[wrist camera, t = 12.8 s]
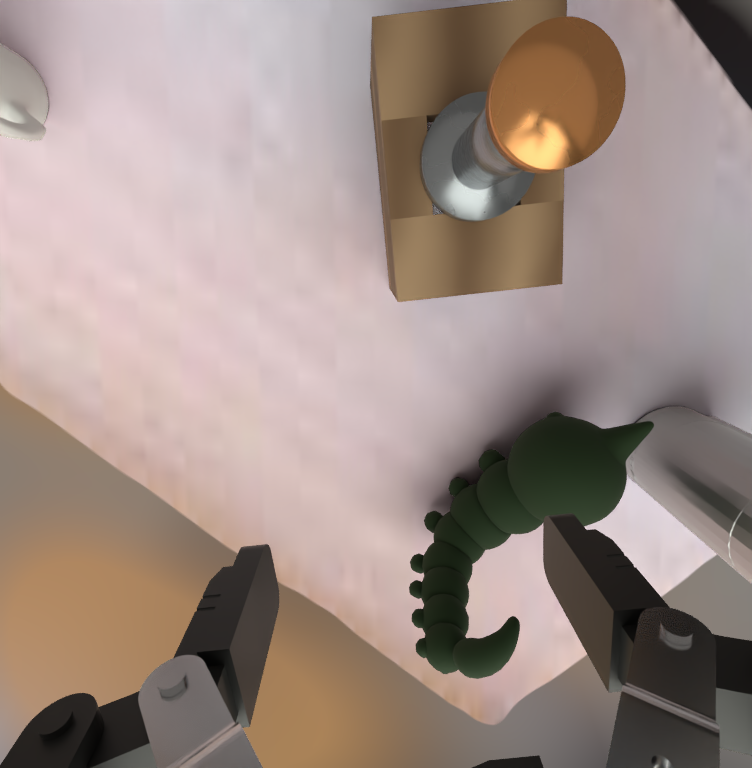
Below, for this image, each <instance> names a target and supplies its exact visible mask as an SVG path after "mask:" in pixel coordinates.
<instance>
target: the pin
mask: <svg viewBox="0 0 752 768" xmlns="http://www.w3.org/2000/svg"><path fill="white" fill-rule="evenodd" d="M624 97H625V72H624V66H623V62H622V59H621V56H620V54H619V51H618V49H617V47H616V46H615V44H614V42H613V41H612V40H611V38H610V37H609V36H608V35H607V34H606V33H605V32H604V31H603V30H602V29H601V28H599V27H598V26H597V25H595V24H593V23H591V22H589V21H587V20H584V19H581V18H577V17H557V18H552V19H548V20H546V21H543V22H541V23H539V24H537V25H535V26H533V27H532V28H530V29H529V30H527V31H526V32H525V33H524V34H523V35H521V36H520V37H519V38H518V39H517V40H516V42H515V43H514V44H513V45H512V46H511V48H510V49H509V50H508V52H507V53H506V55H505V56H504V57H503V59H502V60H501V62H500V63H499V65H498V66H497V68H496V70H495V72H494V74H493V76H492V78H491V81H490V84H489V87H488V91H487V92H475V93H470V94H467V95H464V96H462V97H460V98H458V99H456V100H454V101H453V102H451V103H450V104H449V105H447V106H446V107H445V108H444V109H443V110H442V111H441V112H440V114H439V115H438V116H437V117H436V119H435V120H434V122H433V123H432V125H431V127H430V129H429V131H428V133H427V135H426V137H425V139H424V142H423V145H422V148H421V153H420V161H419V163H420V176H421V181H422V185H423V187H424V190H425V192H426V194H427V196H428V197H429V199H430V200H431V202H432V203H433V204H434V205H435V206H436V207H437V208H438V209H439V210H440V211H441V212H442V213H444V214H445V215H447V216H449V217H451V218H454V219H456V220H460V221H466V222H477V221H483V220H487V219H491V218H494V217H497V216H499V215H501V214H503V213H505V212H507V211H508V210H510V209H511V208H512V207H513V206H515V205H516V204H517V203H518V202H519V201H520V200H521V199H522V197H523V196H524V195H525V193H526V192H527V190H528V189H529V187H530V185H531V183H532V181H533V178H534V176H535V173H539V174H540V173H551V172H556V171H559V170H562V169H565V168H567V167H569V166H572V165H574V164H576V163H579V162H581V161H583V160H584V159H586V158H587V157H589V156H590V155H592V154H593V153H594V152H595V151H596V150H598V148H599V147H600V146H601V145H602V144H603V143H604V142H605V141H606V139H607V138H608V137H609V135H610V134H611V132H612V131H613V129H614V127H615V125H616V123H617V121H618V119H619V116H620V113H621V110H622V107H623V102H624Z"/></svg>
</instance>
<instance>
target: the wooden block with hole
mask: <svg viewBox="0 0 752 768" xmlns="http://www.w3.org/2000/svg"><path fill="white" fill-rule="evenodd" d="M566 14H567V0H513V1H505V2H496V3H488V4H479V5H471V6H462V7H454V8H445V9H437V10H428V11H419V12H411V13H402V14H394V15H385V16H377V17H372V39H371V78H370V88H371V98H372V109H373V119H374V130H375V140H376V151H377V161H378V171H379V182H380V192H381V203H382V213H383V224H384V234H385V244H386V255H387V265H388V276H389V286H390V290H391V291H392V293H393V295H394V296H395V298H396V299H397V301H398V302H403V301H412V300H421V299H430V298H439V297H448V296H457V295H466V294H475V293H485V292H494V291H503V290H512V289H521V288H530V287H539V286H548V285H557V284H562V267H563V203H564V169H562V170H559V171H556V172H551V173H540V174H539V173H535V176H534V178H533V181H532V183H531V185H530V187H529V189H528V190H527V192H526V193H525V195H524V196H523V197H522V199H521V200H520V201H519V202H518V203H517V204H516V205H515V206H513V207H512V208H511V209H510V210H508V211H507V212H505V213H503V214H501V215H499V216H497V217H494V218H491V219H487V220H483V221H477V222H466V221H460V220H456V219H454V218H451V217H449V216H447V215H445V214H437V215H433V209H432V202H431V200H430V199H429V197H428V196H427V194H426V192H425V190H424V187H423V185H422V181H421V176H420V163H419V161H420V153H421V148H422V145H423V142H424V139H425V137H426V135H427V133H428V132H427V122H434V120H435V119H436V117H437V116H438V115H439V114H440V112H441V111H442V110H443V109H444V108H445V107H446V106H447V105H449V104H450V103H451V102H453V101H454V100H456V99H458V98H460V97H462V96H464V95H467V94H470V93H475V92H487V91H488V87H489V84H490V81H491V78H492V76H493V74H494V72H495V70H496V68H497V66H498V65H499V63H500V62H501V60H502V59H503V57H504V56H505V55H506V53H507V52H508V50H509V49H510V48H511V46H512V45H513V44H514V43H515V42H516V40H517V39H518V38H519V37H520V36H521V35H523V34H524V33H525V32H526V31H527V30H529V29H530V28H532V27H533V26H535V25H537V24H539V23H541V22H543V21H546V20H548V19H552V18H557V17H566Z"/></svg>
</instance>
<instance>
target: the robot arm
mask: <svg viewBox="0 0 752 768" xmlns="http://www.w3.org/2000/svg"><path fill="white" fill-rule="evenodd" d="M644 421H651V422H653V423H654V427H653V429H652V430H651V432H650V433H649V434H648V435H647V436H646V438H645V439H644V440H643V441H642V442H641V443H640V444H639V445H638V447H637V448H636V449H635V450H634V451H633V452H632V453H631V454H630V456H629V457H628V458H627V460H626V471H627V475H628V476H629V477H630V478H631V479H632V480H633V481H634V482H635V483H636V484H637V485H638V486H640V487H641V488H642V489H643V490H644V491H645V492H646V493H648V494H649V495H650V496H651V497H652V498H653V499H654V500H655V501H657V502H658V503H659V504H660V505H661V506H662V507H663V508H665V509H666V510H667V511H668V512H669V513H670V514H672V515H673V516H674V517H675V518H676V519H677V520H678V521H680V522H681V523H682V524H683V525H684V526H685V527H687V528H688V529H689V530H690V531H691V532H692V533H693V534H695V535H696V536H697V537H698V538H699V539H700V540H701V541H703V542H704V543H705V544H706V545H707V546H708V547H710V548H711V549H712V550H713V551H714V552H715V553H716V554H718V555H719V556H720V557H721V558H722V559H724V560H725V561H726V562H727V563H728V564H729V565H730V566H731V567H733V568H734V569H735V570H736V571H737V572H738V573H740V574H741V575H742V576H743V577H744V578H745V579H747V580H748V581H749V582H750V583H751V584H752V434H750V433H748V432H745V431H743V430H741V429H739V428H737V427H735V426H733V425H731V424H729V423H727V422H725V421H723V420H720V419H718V418H716V417H714V416H704V415H702V414H700V413H698V412H696V411H694V410H692V409H689V408H686V407H679V406H671V407H664V408H661V409H657V410H655V411H653V412H651V413H649V414H647V415H645V416H644V417H643V418H641V419H640V420H639V421H638V422H637V423H639V422H644ZM543 562H544V569H545V573H546V577H547V580H548V582H549V584H550V586H551V588H552V590H553V592H554V594H555V595H556V597H557V599H558V601H559V603H560V605H561V606H562V608H563V610H564V612H565V614H566V616H567V617H568V619H569V621H570V623H571V625H572V627H573V628H574V630H575V632H576V634H577V636H578V638H579V639H580V641H581V643H582V645H583V647H584V649H585V650H586V652H587V654H588V656H589V658H590V659H591V661H592V663H593V665H594V667H595V669H596V670H597V672H598V674H599V676H600V678H601V680H602V681H603V683H604V685H605V687H606V689H607V690H608V692H619V691H621V696H620V701H619V706H618V710H617V716H616V720H615V725H614V730H613V735H612V740H611V745H610V750H609V754H608V760H607V764H606V768H720V748H721V749H725V750H729V751H734V752H738V753H743V754H747V755H751V756H752V641H749V640H742V639H736V638H730V637H723V636H719V635H714V634H712V633H711V631H710V630H709V629H708V628H707V627H706V626H705V625H704V624H703V623H702V622H700V621H699V620H698V619H696V618H694V617H693V616H691V615H689V614H687V613H685V612H682V611H680V610H676V609H673V608H670V607H669V606H668V605H667V604H666V603H665V601H664V600H663V599H662V598H661V597H660V595H659V594H658V593H657V592H656V591H655V590H654V588H653V587H652V586H651V585H650V584H649V582H648V581H647V580H646V579H645V578H644V577H643V575H642V574H641V573H640V572H639V571H638V570H637V568H634V566H633V564H632V562H631V561H630V560H629V559H628V558H627V557H626V556H624V553H623V552H622V551H621V549H620V548H619V547H618V546H617V545H616V544H615V542H614V541H613V540H612V539H610V538H608V537H607V536H605V535H604V534H602V533H600V532H599V531H597V530H596V529H594V530H586V529H585V528H584V526H583V525H582V524H581V522H580V521H579V520H578V519H577V517H576V516H575V515H574V514H572V513H569V514H560V515H550V516H545V518H544V534H543ZM278 608H279V589H278V583H277V578H276V574H275V569H274V564H273V559H272V554H271V550H270V547H269V545H268V544H265V545H256V546H246V547H241V549H240V550H239V553H238V555H237V557H236V560H235V562H234V565H233V566H230V567H223V568H222V569H221V570H220V571H219V572H218V573H217V574H216V575H215V576H214V577H213V578H212V579H211V580H210V582H209V584H208V586H207V588H206V590H205V592H204V594H203V599H201V601H200V603H199V605H198V607H197V612H195V613H194V616H193V618H192V620H191V622H190V624H189V626H188V628H187V630H186V632H185V635H184V637H183V639H182V641H181V643H180V645H179V647H178V649H177V652H176V654H175V656H174V658H173V659H170V660H168V661H167V662H165V663H163V664H162V665H160V666H159V667H158V668H156V669H155V670H154V671H153V672H152V673H151V674H150V675H149V676H148V678H147V679H146V680H145V682H144V683H143V685H142V687H141V689H140V691H138V692H136V693H134V694H132V695H129V696H127V697H124V698H121V699H119V700H116V701H114V702H111V703H108V704H106V705H103V706H101V707H98V705H97V702H96V700H95V698H94V697H93V696H91V695H90V694H86V693H77V694H72V695H69V696H66V697H64V698H62V699H59V700H57V701H56V702H54V703H52V704H51V705H50V706H48V707H46V708H45V709H44V710H42V711H41V712H40V713H39V714H38V715H37V716H35V717H34V718H33V719H32V720H31V721H30V723H29V724H28V725H27V726H26V728H25V729H24V731H23V732H22V733H21V735H20V736H19V738H18V739H17V741H16V742H15V744H14V745H13V747H12V748H11V750H10V751H9V753H8V755H7V756H6V757H5V759H4V760H3V762H2V763H1V765H0V768H263V767H262V766H261V763H260V762H259V760H258V758H257V756H256V754H255V752H254V750H253V748H252V746H251V744H250V742H249V740H248V738H247V736H246V734H245V732H244V730H243V727H250V724H251V719H252V715H253V711H254V707H255V703H256V699H257V695H258V690H259V687H260V683H261V678H262V674H263V670H264V666H265V662H266V658H267V654H268V650H269V646H270V642H271V638H272V634H273V630H274V625H275V621H276V617H277V613H278ZM473 768H543V765H542V762H541V759H540V756H529V757H519V758H509V759H499V760H489V761H487V762H484V763H482V764H480V765H477V766H475V767H473Z"/></svg>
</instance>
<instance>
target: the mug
mask: <svg viewBox="0 0 752 768" xmlns="http://www.w3.org/2000/svg"><path fill="white" fill-rule="evenodd" d="M47 113H48V95H47V91H46V88H45V85H44V83H43V80H42V79H41V77H40V75H39V74H38V72H37V71H36V69H35V68H34V67H33V66H32V65H31V64H30V63H29V62H28V61H27V60H26V59H24V58H23V57H22V56H20V55H19V54H17V53H15V52H14V51H12V50H11V49H9V48H7V47H6V46H4V45H3V44H1V43H0V136H4V137H8V138H14V139H21V140H26V141H38V140H41V139H42V138H43V137H44V135H45V133H46V128H45V127H44V126H43V124H44V122H45V120H46V117H47Z"/></svg>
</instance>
